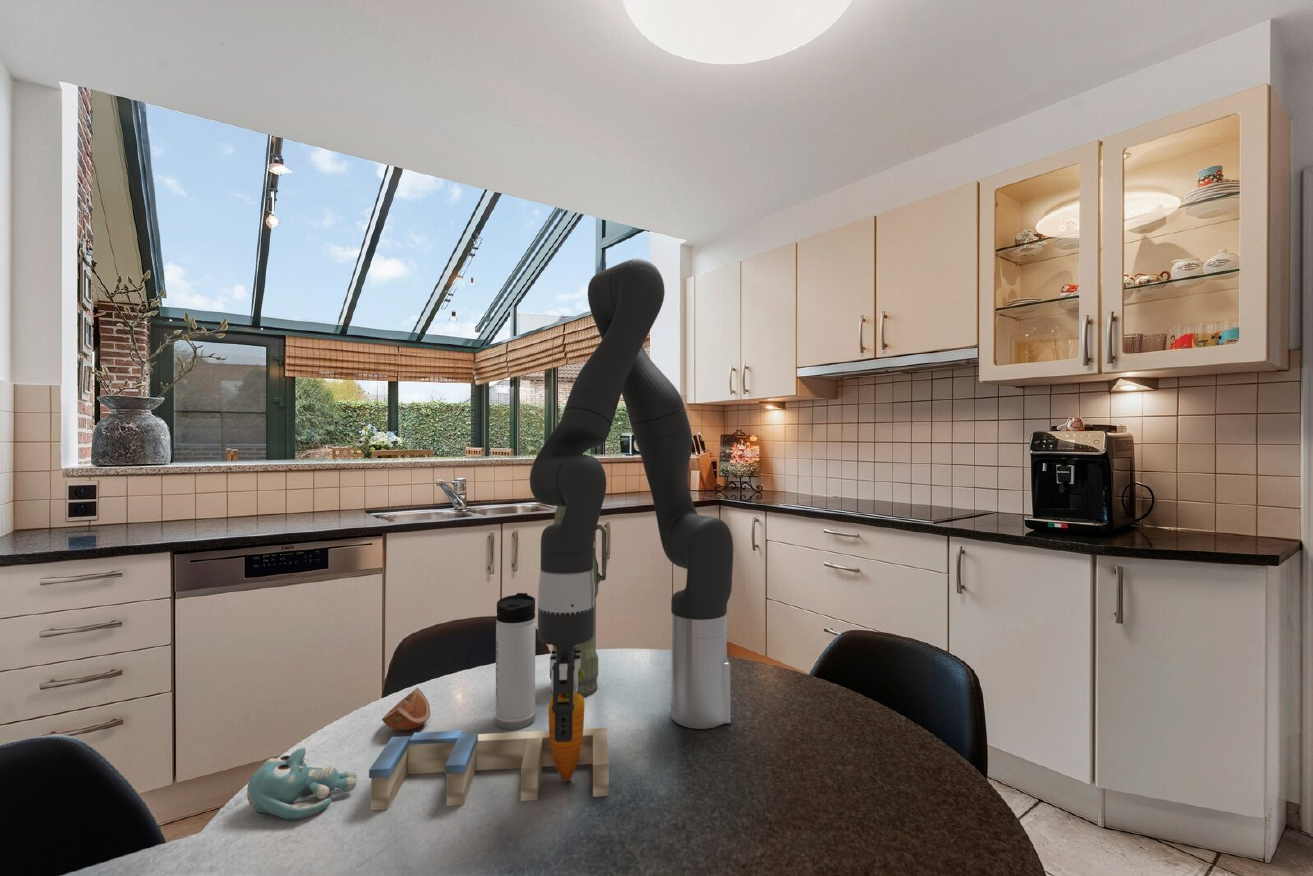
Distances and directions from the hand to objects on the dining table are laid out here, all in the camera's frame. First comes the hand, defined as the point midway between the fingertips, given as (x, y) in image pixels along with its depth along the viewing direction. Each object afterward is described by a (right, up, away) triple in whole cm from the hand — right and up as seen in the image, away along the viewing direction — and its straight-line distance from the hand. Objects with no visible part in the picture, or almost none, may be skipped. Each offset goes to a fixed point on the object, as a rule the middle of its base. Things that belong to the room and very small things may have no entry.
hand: (565, 725), depth 79 cm
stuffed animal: (-32, -8, -5) cm, 33 cm away
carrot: (0, -8, 0) cm, 8 cm away
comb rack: (-9, -7, -1) cm, 11 cm away
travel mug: (-11, -8, +18) cm, 22 cm away
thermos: (-3, -8, +31) cm, 32 cm away
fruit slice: (-28, -8, +15) cm, 32 cm away
